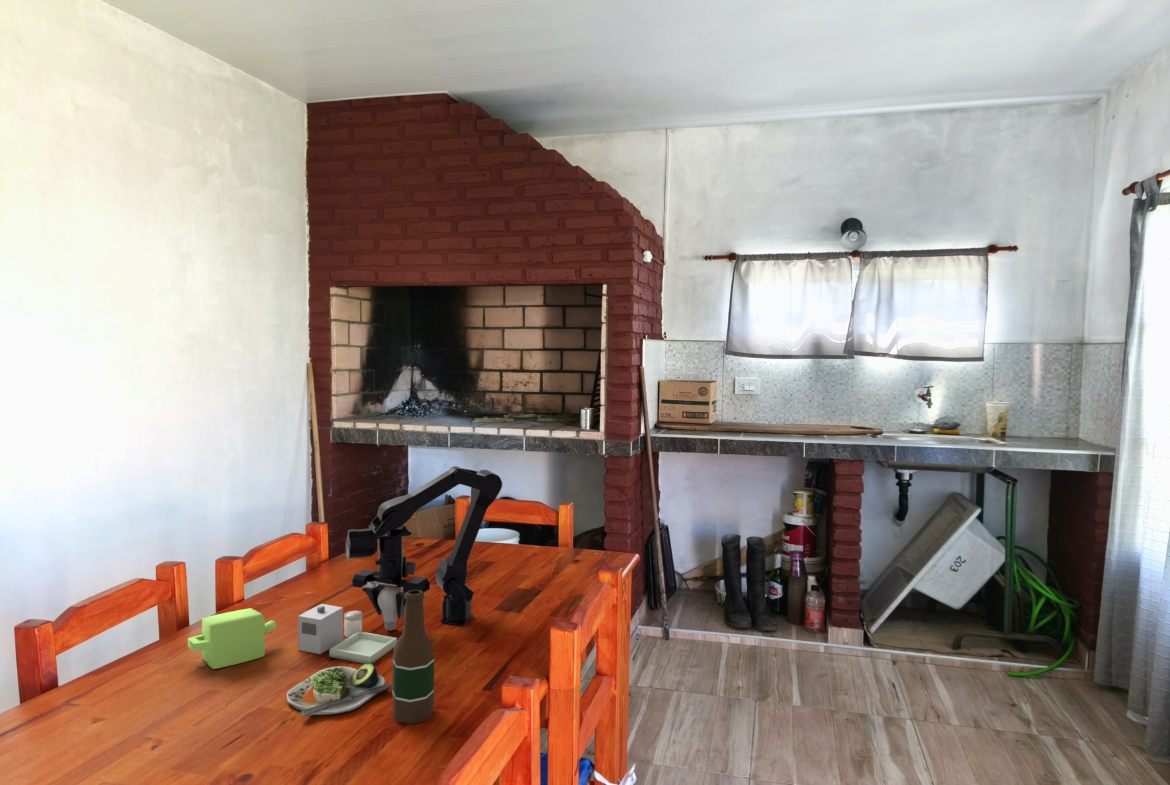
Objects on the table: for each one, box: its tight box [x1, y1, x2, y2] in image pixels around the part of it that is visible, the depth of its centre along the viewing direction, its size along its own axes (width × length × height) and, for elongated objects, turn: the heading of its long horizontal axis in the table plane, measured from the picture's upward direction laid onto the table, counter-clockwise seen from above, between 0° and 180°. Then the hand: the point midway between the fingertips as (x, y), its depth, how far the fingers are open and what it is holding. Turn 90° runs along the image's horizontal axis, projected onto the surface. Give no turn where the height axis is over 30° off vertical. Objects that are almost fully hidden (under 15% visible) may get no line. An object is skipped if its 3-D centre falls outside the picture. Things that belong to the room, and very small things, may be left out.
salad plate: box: [285, 663, 393, 717], centre depth 141 cm, size 19×18×5 cm
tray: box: [329, 631, 398, 665], centre depth 162 cm, size 11×11×2 cm
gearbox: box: [187, 607, 277, 670], centre depth 158 cm, size 18×10×10 cm, turn 134°
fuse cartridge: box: [343, 610, 363, 638], centre depth 171 cm, size 4×4×5 cm
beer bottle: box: [391, 590, 435, 726], centre depth 134 cm, size 8×8×24 cm
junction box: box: [297, 603, 344, 655], centre depth 164 cm, size 6×9×9 cm
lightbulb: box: [378, 586, 401, 632], centre depth 173 cm, size 6×6×11 cm
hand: (390, 616), depth 173 cm, fingers closed on lightbulb, 5 cm apart
